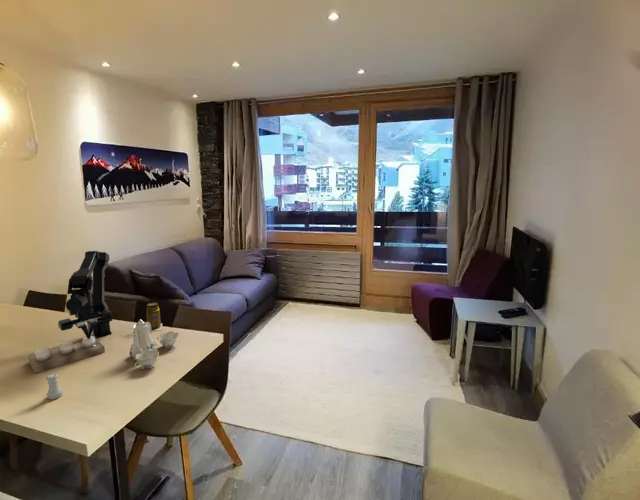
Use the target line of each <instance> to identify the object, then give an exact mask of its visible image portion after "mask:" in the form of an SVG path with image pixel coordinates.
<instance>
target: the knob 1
mask: <svg viewBox="0 0 640 500" xmlns="http://www.w3.org/2000/svg"><path fill="white" fill-rule="evenodd" d="M50 351H51V350H50V349H49V348H47V347H46V348H41V349H38V350H36V351H35V353H34V355H36V360H37V361H42V360H46V359H48V358H50Z"/></svg>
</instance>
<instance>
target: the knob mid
mask: <svg viewBox="0 0 640 500" xmlns="http://www.w3.org/2000/svg"><path fill="white" fill-rule="evenodd" d="M73 344H74V342H73V341H67V342H66V341H65V342H63V343H60V344H59V348H60V351H61V353H62V354H66V353H70V352H72V351H73V350H74V348H73Z"/></svg>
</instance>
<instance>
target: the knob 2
mask: <svg viewBox="0 0 640 500" xmlns="http://www.w3.org/2000/svg"><path fill="white" fill-rule="evenodd" d="M95 338H96V336H94V335H91V337H90V339H87V337H83V338H82V342H83V347H91V346H94V345H95Z"/></svg>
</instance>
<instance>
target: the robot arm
mask: <svg viewBox="0 0 640 500" xmlns="http://www.w3.org/2000/svg"><path fill="white" fill-rule="evenodd" d="M109 262H110V254H108V253H107V252H106V251H102V252H101V251H98V250H88V251H85V253H84V258H83V260H82V262H81V264H80V266H79V269H78V270H76V271H74V272H73V273H72V274H71V275H70V277H69V280H68V285H67V291H66V292H67V295H70V296H69V298H68V300H66V303H65V308H66V309H67V310H68V314H69V316H70V317H71V316H74V317H75V318H76V319H72V320H71V318H65V319H60V320H59V321H57V322H58V323H57V325H58V328H59V329H60V331H67V330H70V329H71V330H72V329H73V327H74V325H75V326H76V327H77V329H81V330H82V332H83V333H84V335H85V336H86V337H87V339H90V337H91V336H94V337H95V338H96V339H98V338H101V337H104V336H108V335H112V334H113V332H112V331H111V325H110V323H111V322H112V321H113V313H112V311H110V310H109V305H107V303H106V301H105V270H106V269H107V267H108V266H109ZM91 291H92V293H91ZM86 324H87V325H86Z"/></svg>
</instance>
